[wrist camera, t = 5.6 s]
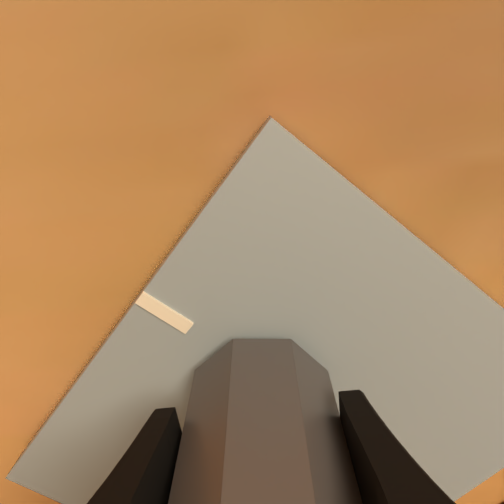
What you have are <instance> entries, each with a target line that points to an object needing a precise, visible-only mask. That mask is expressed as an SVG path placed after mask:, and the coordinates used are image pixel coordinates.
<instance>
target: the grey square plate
mask: <svg viewBox="0 0 504 504" xmlns="http://www.w3.org/2000/svg"><path fill="white" fill-rule="evenodd" d="M232 339H292V340H293V341H294V342H295V343H296V344H298V345H299V346H300V347H301V348H302V349H303V350H304V351H306V352H307V353H308V354H309V355H310V356H311V357H313V358H314V359H315V360H316V361H317V362H318V363H320V364H321V365H322V366H323V367H324V368H325V369H327V370H328V373H329V376H330V380H331V384H332V388H333V392H334V396H335V399H336V403H337V407H338V411H339V392H338V391H348V390H361V391H362V392H363V393H364V395H365V396H366V398H367V399H368V401H369V402H370V404H371V405H372V407H373V408H374V409H375V411H376V412H377V414H378V415H379V416H380V418H381V419H382V420H383V422H384V423H385V424H386V426H387V427H388V428H389V430H390V431H391V432H392V433H393V435H394V436H395V437H396V438H397V440H398V441H399V442H400V443H401V444H402V446H403V447H404V448H405V449H406V450H407V452H408V453H409V454H410V455H411V456H412V457H413V459H414V460H415V461H416V462H417V463H418V464H419V465H420V467H421V468H422V469H423V470H424V471H425V472H426V473H427V474H428V475H429V476H430V478H431V479H432V480H433V481H434V482H435V483H436V484H437V485H438V486H439V487H440V488H441V489H442V490H443V491H444V492H445V493H446V494H447V495H448V496H449V497H450V498H451V499H452V500H453V501H456V500H457V499H459V498H460V497H462V496H463V495H465V494H466V493H468V492H469V491H470V490H472V489H473V488H475V487H476V486H478V485H479V484H481V483H482V482H484V481H485V480H487V479H488V478H490V477H491V476H492V475H494V474H495V473H497V472H498V471H500V470H501V469H503V468H504V308H502V307H501V306H500V305H499V304H498V303H496V302H495V301H494V300H493V299H491V298H490V297H489V296H488V295H487V294H485V293H484V292H483V291H482V290H481V289H479V288H478V287H477V286H476V285H474V284H473V283H472V282H471V281H470V280H468V279H467V278H466V277H465V276H464V275H462V274H461V273H460V272H459V271H457V270H456V269H455V268H454V267H453V266H451V265H450V264H449V263H448V262H447V261H445V260H444V259H443V258H442V257H440V256H439V255H438V254H437V253H436V252H434V251H433V250H432V249H431V248H430V247H428V246H427V245H426V244H425V243H423V242H422V241H421V240H420V239H419V238H417V237H416V236H415V235H414V234H413V233H411V232H410V231H409V230H408V229H406V228H405V227H404V226H403V225H402V224H400V223H399V222H398V221H397V220H396V219H394V218H393V217H392V216H391V215H389V214H388V213H387V212H386V211H385V210H383V209H382V208H381V207H380V206H379V205H377V204H376V203H375V202H374V201H372V200H371V199H370V198H369V197H368V196H366V195H365V194H364V193H363V192H362V191H360V190H359V189H358V188H357V187H355V186H354V185H353V184H352V183H351V182H349V181H348V180H347V179H346V178H345V177H343V176H342V175H341V174H340V173H338V172H337V171H336V170H335V169H334V168H332V167H331V166H330V165H329V164H328V163H326V162H325V161H324V160H323V159H321V158H320V157H319V156H318V155H317V154H315V153H314V152H313V151H312V150H311V149H309V148H308V147H307V146H306V145H304V144H303V143H302V142H301V141H300V140H298V139H297V138H296V137H295V136H294V135H292V134H291V133H290V132H289V131H287V130H286V129H285V128H284V127H283V126H281V125H280V124H279V123H278V122H277V121H275V120H274V119H273V118H272V117H270V116H269V117H268V119H267V120H266V121H265V123H264V124H263V125H262V127H261V128H260V129H259V131H258V132H257V133H256V135H255V136H254V138H253V139H252V140H251V142H250V143H249V144H248V146H247V147H246V148H245V150H244V151H243V153H242V154H241V155H240V157H239V158H238V159H237V161H236V162H235V163H234V165H233V166H232V168H231V169H230V170H229V172H228V173H227V174H226V176H225V177H224V178H223V180H222V181H221V183H220V184H219V185H218V187H217V188H216V189H215V191H214V192H213V193H212V195H211V196H210V198H209V199H208V200H207V202H206V203H205V204H204V206H203V207H202V208H201V210H200V211H199V213H198V214H197V215H196V217H195V218H194V219H193V221H192V222H191V223H190V225H189V226H188V228H187V229H186V230H185V232H184V233H183V234H182V236H181V237H180V238H179V240H178V241H177V242H176V244H175V245H174V247H173V248H172V249H171V251H170V252H169V253H168V255H167V256H166V257H165V259H164V260H163V262H162V263H161V264H160V266H159V267H158V268H157V270H156V271H155V272H154V274H153V275H152V277H151V278H150V279H149V281H148V282H147V283H146V285H145V286H144V287H143V289H142V290H141V292H140V293H139V294H138V296H137V297H136V298H135V300H134V301H133V302H132V304H131V305H130V307H129V308H128V309H127V311H126V312H125V313H124V315H123V316H122V317H121V319H120V320H119V322H118V323H117V324H116V326H115V327H114V328H113V330H112V331H111V332H110V334H109V335H108V337H107V338H106V339H105V341H104V342H103V343H102V345H101V346H100V347H99V349H98V350H97V351H96V353H95V354H94V356H93V357H92V358H91V360H90V361H89V362H88V364H87V365H86V366H85V368H84V369H83V371H82V372H81V373H80V375H79V376H78V377H77V379H76V380H75V381H74V383H73V384H72V386H71V387H70V388H69V390H68V391H67V392H66V394H65V395H64V396H63V398H62V399H61V401H60V402H59V403H58V405H57V406H56V407H55V409H54V410H53V411H52V413H51V414H50V416H49V417H48V418H47V420H46V421H45V422H44V424H43V425H42V426H41V428H40V429H39V431H38V432H37V433H36V435H35V436H34V437H33V439H32V440H31V441H30V443H29V444H28V446H27V447H26V448H25V450H24V451H23V452H22V454H21V455H20V457H19V458H18V460H17V461H16V463H15V464H14V466H13V467H12V469H11V470H10V472H9V474H8V475H7V477H6V479H8V480H10V481H12V482H15V483H17V484H19V485H21V486H24V487H26V488H28V489H30V490H33V491H35V492H37V493H39V494H41V495H44V496H46V497H48V498H50V499H53V500H55V501H57V502H59V503H61V504H87V503H88V501H89V500H90V499H91V497H92V496H93V495H94V494H95V492H96V491H97V490H98V489H99V487H100V486H101V485H102V483H103V482H104V481H105V480H106V478H107V477H108V476H109V474H110V473H111V471H112V470H113V469H114V467H115V466H116V465H117V463H118V462H119V460H120V459H121V458H122V456H123V455H124V453H125V452H126V451H127V449H128V448H129V446H130V445H131V443H132V442H133V441H134V439H135V438H136V436H137V435H138V433H139V432H140V430H141V429H142V427H143V426H144V424H145V423H146V421H147V420H148V418H149V417H150V415H151V414H152V413H153V411H154V410H155V409H159V408H170V407H175V408H176V412H177V416H178V419H179V423H180V427H181V430H182V432H183V427H184V422H185V417H186V412H187V407H188V402H189V397H190V392H191V387H192V382H193V377H194V372H195V370H196V369H197V368H198V367H199V366H200V365H202V364H203V363H204V362H205V361H207V360H208V359H209V358H210V357H211V356H213V355H214V354H215V353H216V352H217V351H219V350H220V349H221V348H222V347H224V346H225V345H226V344H227V343H228V342H230V341H231V340H232ZM339 415H340V411H339Z"/></svg>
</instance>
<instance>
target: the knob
mask: <svg viewBox="0 0 504 504" xmlns="http://www.w3.org/2000/svg"><path fill="white" fill-rule="evenodd" d="M168 504H363V503H362V499H361V495H360V491H359V487H358V484H357V480H356V476H355V472H354V468H353V464H352V461H351V457H350V453H349V449H348V446H347V443H346V439H345V435H344V431H343V427H342V423H341V420H340V415H339V411H338V407H337V403H336V399H335V396H334V392H333V388H332V384H331V380H330V376H329V373H328V370H327V369H325V368H324V367H323V366H322V365H321V364H320V363H318V362H317V361H316V360H315V359H314V358H313V357H311V356H310V355H309V354H308V353H307V352H306V351H304V350H303V349H302V348H301V347H300V346H299V345H298V344H296V343H295V342H294V341H293V340H292V339H232V340H231V341H230V342H228V343H227V344H226V345H225V346H224V347H222V348H221V349H220V350H219V351H217V352H216V353H215V354H214V355H213V356H211V357H210V358H209V359H208V360H207V361H205V362H204V363H203V364H202V365H200V366H199V367H198V368H197V369H196V370H195V372H194V377H193V382H192V387H191V392H190V397H189V402H188V407H187V412H186V417H185V422H184V427H183V432H182V437H181V441H180V446H179V451H178V456H177V461H176V466H175V471H174V476H173V481H172V486H171V491H170V496H169V501H168Z"/></svg>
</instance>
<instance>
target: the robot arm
mask: <svg viewBox="0 0 504 504" xmlns="http://www.w3.org/2000/svg"><path fill="white" fill-rule="evenodd" d="M338 392H339V411H340V420H341V423H342V427H343V431H344V435H345V439H346V443H347V446H348V449H349V453H350V457H351V461H352V464H353V468H354V472H355V476H356V480H357V484H358V487H359V491H360V495H361V499H362V503H363V504H456V503H455V502H454V501H453V500H452V499H451V498H450V497H449V496H448V495H447V494H446V493H445V492H444V491H443V490H442V489H441V488H440V487H439V486H438V485H437V484H436V483H435V482H434V481H433V480H432V479H431V478H430V476H429V475H428V474H427V473H426V472H425V471H424V470H423V469H422V468H421V467H420V465H419V464H418V463H417V462H416V461H415V460H414V459H413V457H412V456H411V455H410V454H409V453H408V452H407V450H406V449H405V448H404V447H403V446H402V444H401V443H400V442H399V441H398V440H397V438H396V437H395V436H394V435H393V433H392V432H391V431H390V430H389V428H388V427H387V426H386V424H385V423H384V422H383V420H382V419H381V418H380V416H379V415H378V414H377V412H376V411H375V409H374V408H373V407H372V405H371V404H370V402H369V401H368V399H367V398H366V396H365V395H364V393H363V392H362V391H361V390H348V391H338ZM181 437H182V430H181V427H180V423H179V419H178V416H177V412H176V408H175V407H170V408H159V409H155V410H154V411H153V413H152V414H151V415H150V417H149V418H148V420H147V421H146V423H145V424H144V426H143V427H142V429H141V430H140V432H139V433H138V435H137V436H136V438H135V439H134V441H133V442H132V443H131V445H130V446H129V448H128V449H127V451H126V452H125V453H124V455H123V456H122V458H121V459H120V460H119V462H118V463H117V465H116V466H115V467H114V469H113V470H112V471H111V473H110V474H109V476H108V477H107V478H106V480H105V481H104V482H103V483H102V485H101V486H100V487H99V489H98V490H97V491H96V492H95V494H94V495H93V496H92V497H91V499H90V500H89V501H88V503H87V504H168V501H169V496H170V491H171V486H172V481H173V476H174V471H175V466H176V461H177V456H178V451H179V446H180V441H181Z"/></svg>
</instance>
